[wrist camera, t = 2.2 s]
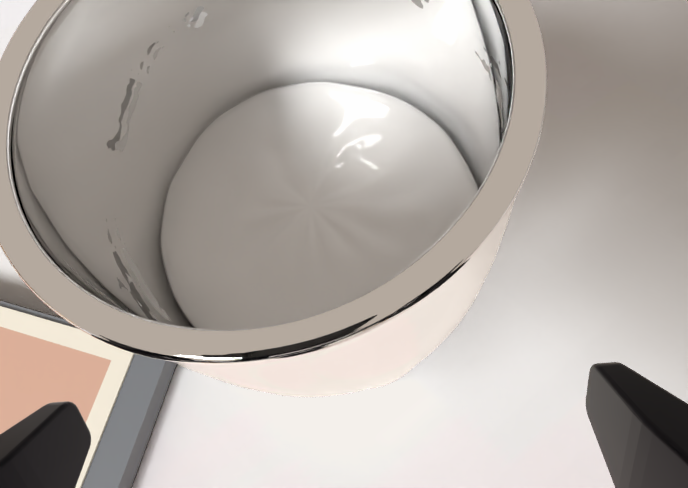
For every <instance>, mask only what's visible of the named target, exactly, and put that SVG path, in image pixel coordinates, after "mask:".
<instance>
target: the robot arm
mask: <svg viewBox="0 0 688 488" xmlns="http://www.w3.org/2000/svg"><path fill="white" fill-rule="evenodd" d="M586 410H587V414H588V417H589V420H590V422H591V425H592V428H593V430H594V433H595V435H596V438H597V441H598V443H599V446H600V449H601V451H602V454H603V456H604V459H605V462H606V464H607V467H608V470H609V472H610V475H611V477H612V480H613V483H614V485H615V488H688V404H687V403H686V402H684V401H682V400H681V399H679V398H677V397H676V396H674V395H672V394H671V393H669V392H668V391H666V390H664V389H663V388H661V387H659V386H658V385H656V384H654V383H653V382H651V381H650V380H648V379H646V378H645V377H643V376H641V375H640V374H638V373H636V372H635V371H633V370H632V369H630V368H628V367H627V366H625V365H623V364H621V363H617V362H611V363H597V364H594V365H592V367H591V368H590V372H589V380H588V387H587V395H586ZM90 445H91V434H90V431H89V429H88V427H87V425H86V423H85V421H84V419H83V417H82V415H81V413H80V411H79V409H78V407H77V406H76V405H75V404H74V403H73V402H69V401H65V402H52V403H48V404H46V405H44V406H43V407H41V408H40V409H38V410H37V411H35V412H34V413H32V414H30V415H29V416H27V417H26V418H24V419H23V420H21V421H20V422H18V423H17V424H15V425H14V426H12V427H11V428H9V429H8V430H6V431H5V432H3V433H1V434H0V488H75V487H76V484H77V482H78V479H79V476H80V473H81V471H82V468H83V465H84V462H85V460H86V457H87V454H88V451H89V449H90Z"/></svg>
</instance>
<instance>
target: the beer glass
mask: <svg viewBox="0 0 688 488" xmlns="http://www.w3.org/2000/svg"><path fill="white" fill-rule="evenodd" d="M546 96H547V66H546V56H545V49H544V43H543V38H542V34H541V30H540V26H539V23H538V20H537V17H536V14H535V11H534V8H533V6H532V4H531V1H530V0H37V1H36V2H35V3H34V5H33V6H32V7H31V9H30V10H29V11H28V13H27V14H26V16H25V17H24V18H23V20H22V21H21V23H20V24H19V26H18V28H17V29H16V31H15V32H14V34H13V36H12V38H11V39H10V41H9V43H8V45H7V47H6V49H5V51H4V53H3V55H2V57H1V59H0V247H1V248H2V250H3V252H4V254H5V256H6V257H7V259H8V260H9V262H10V264H11V265H12V267H13V268H14V269H15V271H16V272H17V274H18V275H19V277H20V278H21V279H22V280H23V281H24V283H25V284H26V285H27V286H28V287H29V288H30V290H31V291H32V292H33V293H34V294H35V295H36V296H37V297H38V298H39V299H40V300H41V301H43V302H44V303H45V304H46V305H47V306H48V307H49V308H51V309H52V310H53V311H54V312H55V313H57V314H58V315H59V316H61V317H62V318H63V319H65V320H66V321H68V322H69V323H71V324H72V325H74V326H75V327H77V328H79V329H80V330H82V331H83V332H85V333H87V334H89V335H91V336H93V337H94V338H96V339H99V340H101V341H103V342H105V343H107V344H110V345H112V346H115V347H117V348H120V349H122V350H125V351H128V352H131V353H134V354H138V355H141V356H145V357H148V358H152V359H157V360H162V361H167V362H171V363H174V364H176V365H179V366H181V367H184V368H186V369H189V370H191V371H194V372H197V373H200V374H202V375H205V376H208V377H211V378H214V379H217V380H220V381H222V382H225V383H228V384H231V385H235V386H238V387H242V388H247V389H251V390H256V391H261V392H266V393H271V394H276V395H282V396H291V397H325V396H335V395H343V394H350V393H355V392H359V391H363V390H367V389H373V388H378V387H382V386H385V385H388V384H390V383H393V382H395V381H396V380H398V379H400V378H402V377H403V376H404V375H406V374H407V373H408V372H410V371H411V370H412V369H413V368H414V367H415V366H416V365H417V364H419V363H420V362H422V361H423V360H424V359H425V358H427V357H428V356H429V355H430V354H431V353H432V352H433V351H434V350H435V349H436V348H437V347H438V346H439V345H440V344H441V343H442V342H443V341H444V340H445V339H446V338H447V337H448V336H449V335H450V334H451V333H452V332H453V331H454V329H455V328H456V327H457V326H458V325H459V323H460V322H461V321H462V319H463V318H464V317H465V315H466V314H467V312H468V311H469V309H470V307H471V306H472V304H473V302H474V301H475V299H476V297H477V295H478V293H479V291H480V289H481V287H482V285H483V283H484V281H485V279H486V277H487V275H488V273H489V271H490V269H491V267H492V265H493V262H494V260H495V257H496V255H497V252H498V249H499V247H500V244H501V241H502V238H503V235H504V233H505V230H506V227H507V224H508V221H509V218H510V215H511V211H512V208H513V205H514V201H515V198H516V196H517V195H518V193H519V191H520V189H521V187H522V185H523V183H524V180H525V178H526V176H527V174H528V172H529V169H530V166H531V164H532V161H533V159H534V156H535V153H536V149H537V146H538V143H539V139H540V135H541V131H542V126H543V121H544V114H545V108H546Z"/></svg>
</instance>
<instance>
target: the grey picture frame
mask: <svg viewBox="0 0 688 488" xmlns="http://www.w3.org/2000/svg"><path fill="white" fill-rule="evenodd" d="M175 367H176V364H174V363H171V362H167V361H162V360H157V359H152V358H148V357H145V356H141V355H138V354H134V353H131V352H128V351H125V350H122V349H120V348H117V347H115V346H112V345H110V344H107V343H105V342H103V341H101V340H99V339H96V338H94V337H93V336H91V335H89V334H87V333H85V332H83V331H82V330H80V329H79V328H77V327H75V326H74V325H72V324H71V323H69V322H68V321H66V320H65V319H63V318H59V317H56V316H52V315H49V314H45V313H42V312H39V311H35V310H32V309H28V308H25V307H21V306H18V305H15V304H11V303H8V302H4V301H1V300H0V434H1V433H3V432H5V431H6V430H8V429H9V428H11V427H12V426H14V425H15V424H17V423H18V422H20V421H21V420H23V419H24V418H26V417H27V416H29V415H30V414H32V413H34V412H35V411H37V410H38V409H40V408H41V407H43V406H44V405H46V404H48V403H52V402H65V401H69V402H73V403H74V404H75V405H76V406H77V407H78V409H79V411H80V413H81V415H82V417H83V419H84V421H85V423H86V425H87V427H88V429H89V431H90V434H91V445H90V449H89V451H88V454H87V457H86V460H85V462H84V465H83V468H82V471H81V473H80V476H79V479H78V482H77V484H76V487H75V488H131V487H132V484H133V482H134V479H135V476H136V473H137V471H138V468H139V465H140V462H141V460H142V457H143V454H144V452H145V449H146V446H147V443H148V441H149V438H150V435H151V433H152V430H153V427H154V424H155V422H156V419H157V416H158V413H159V411H160V408H161V405H162V403H163V400H164V397H165V394H166V392H167V389H168V386H169V384H170V381H171V378H172V375H173V373H174V370H175Z"/></svg>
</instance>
